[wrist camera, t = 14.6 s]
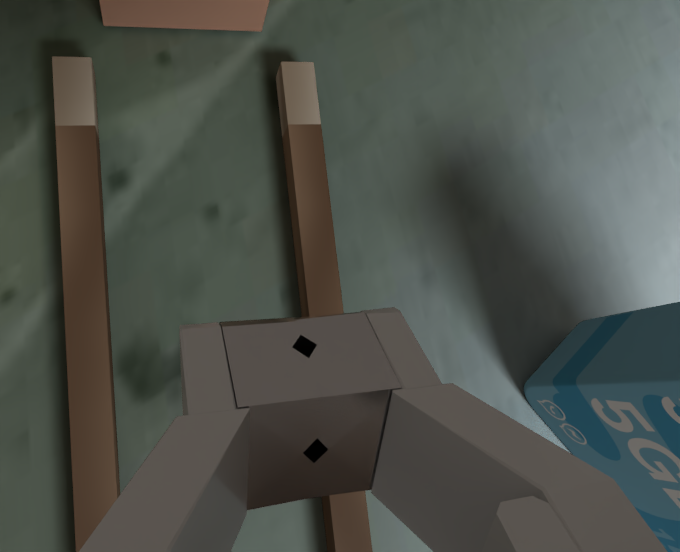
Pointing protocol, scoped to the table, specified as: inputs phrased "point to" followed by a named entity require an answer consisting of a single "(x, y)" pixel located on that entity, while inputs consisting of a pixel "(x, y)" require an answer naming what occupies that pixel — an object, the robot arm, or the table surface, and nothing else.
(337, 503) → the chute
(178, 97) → the table surface
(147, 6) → the block
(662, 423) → the data package
